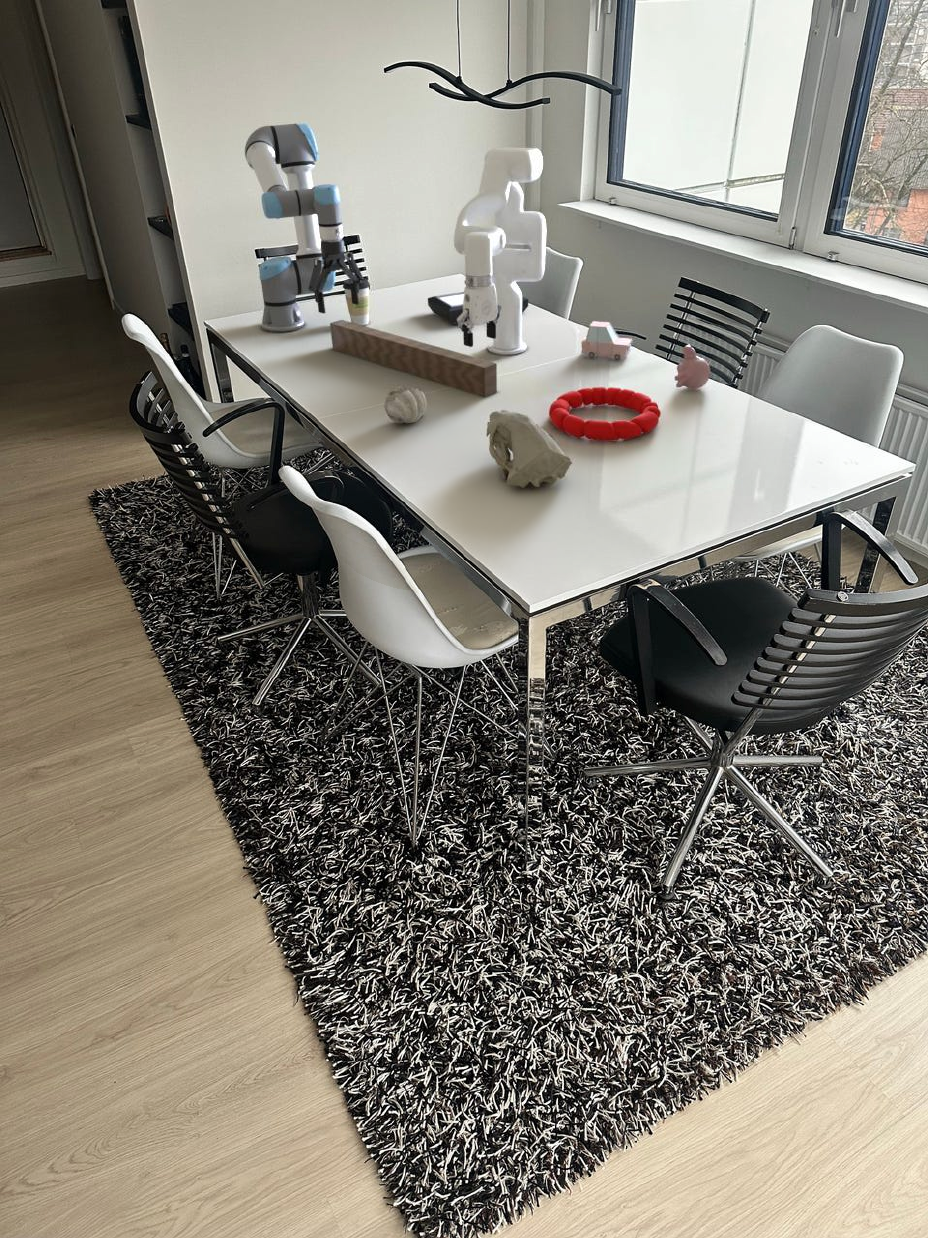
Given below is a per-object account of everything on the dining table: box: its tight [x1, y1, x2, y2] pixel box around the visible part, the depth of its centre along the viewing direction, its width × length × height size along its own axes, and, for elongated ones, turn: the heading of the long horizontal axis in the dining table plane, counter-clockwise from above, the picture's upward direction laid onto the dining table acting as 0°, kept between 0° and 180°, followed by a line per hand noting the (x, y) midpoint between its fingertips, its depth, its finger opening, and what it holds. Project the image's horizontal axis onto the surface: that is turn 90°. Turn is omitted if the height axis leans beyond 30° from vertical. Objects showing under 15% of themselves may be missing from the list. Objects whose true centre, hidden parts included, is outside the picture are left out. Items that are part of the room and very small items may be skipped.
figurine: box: [674, 344, 711, 390], centre depth 259 cm, size 9×11×12 cm
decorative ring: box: [548, 386, 661, 442], centre depth 242 cm, size 7×30×30 cm
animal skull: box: [485, 409, 573, 489], centre depth 216 cm, size 17×25×20 cm
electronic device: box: [427, 291, 529, 325], centre depth 331 cm, size 32×6×20 cm
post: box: [329, 319, 498, 398], centre depth 282 cm, size 71×5×9 cm, turn 46°
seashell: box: [383, 386, 427, 424], centre depth 244 cm, size 10×15×10 cm
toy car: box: [580, 320, 633, 361], centre depth 286 cm, size 9×15×10 cm, turn 70°
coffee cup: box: [342, 277, 371, 326], centre depth 323 cm, size 10×10×15 cm
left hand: (338, 308), depth 293 cm, fingers open, 13 cm apart
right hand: (479, 341), depth 258 cm, fingers open, 9 cm apart
